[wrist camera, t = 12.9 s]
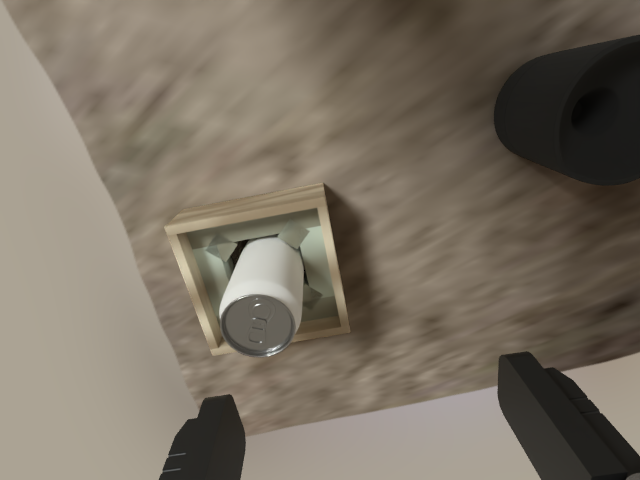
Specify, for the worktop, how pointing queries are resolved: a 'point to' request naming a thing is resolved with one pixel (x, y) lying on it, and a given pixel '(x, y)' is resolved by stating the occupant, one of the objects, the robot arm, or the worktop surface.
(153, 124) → the worktop surface
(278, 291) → the can
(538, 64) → the pen holder
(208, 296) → the bore box
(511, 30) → the worktop surface
